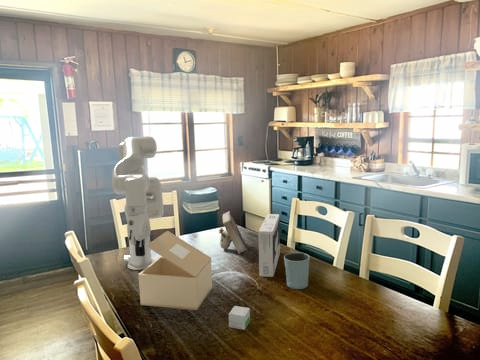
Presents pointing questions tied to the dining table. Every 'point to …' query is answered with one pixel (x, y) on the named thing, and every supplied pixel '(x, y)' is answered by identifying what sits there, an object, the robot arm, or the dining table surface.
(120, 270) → the dining table surface
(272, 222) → the packaging
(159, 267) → the carton
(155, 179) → the robot arm
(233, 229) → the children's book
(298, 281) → the blue gray cup
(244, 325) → the small box
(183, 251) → the lid flap
